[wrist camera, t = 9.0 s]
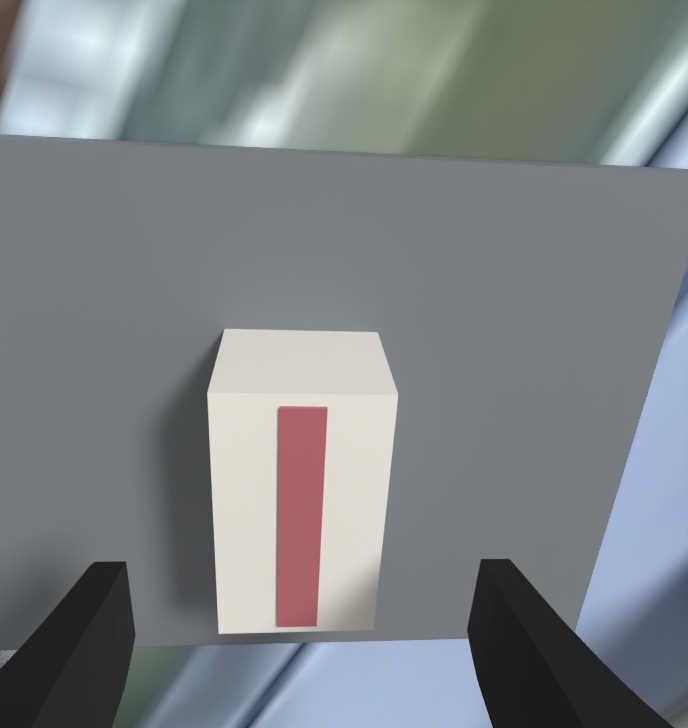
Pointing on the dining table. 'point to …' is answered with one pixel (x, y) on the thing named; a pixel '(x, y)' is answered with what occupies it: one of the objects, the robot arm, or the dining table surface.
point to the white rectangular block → (299, 478)
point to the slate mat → (321, 313)
